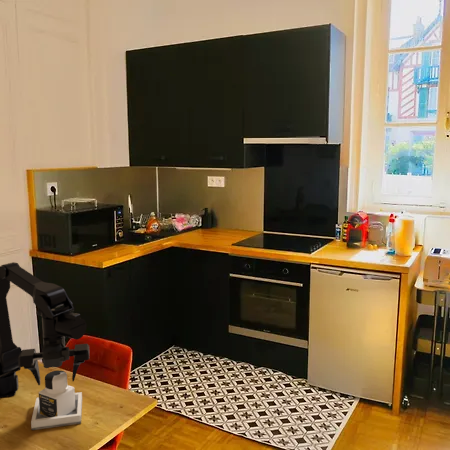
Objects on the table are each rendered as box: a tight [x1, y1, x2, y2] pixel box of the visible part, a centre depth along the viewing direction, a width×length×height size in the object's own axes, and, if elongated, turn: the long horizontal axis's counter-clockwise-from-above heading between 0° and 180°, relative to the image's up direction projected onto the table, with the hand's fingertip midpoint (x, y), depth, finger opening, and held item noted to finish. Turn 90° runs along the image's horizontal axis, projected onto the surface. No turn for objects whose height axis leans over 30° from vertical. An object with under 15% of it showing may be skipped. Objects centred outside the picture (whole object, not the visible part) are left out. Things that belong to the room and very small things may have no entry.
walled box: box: [30, 391, 83, 431], centre depth 140 cm, size 13×13×2 cm
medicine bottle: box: [38, 370, 76, 418], centre depth 139 cm, size 7×7×12 cm
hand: (56, 382), depth 138 cm, fingers open, 9 cm apart
